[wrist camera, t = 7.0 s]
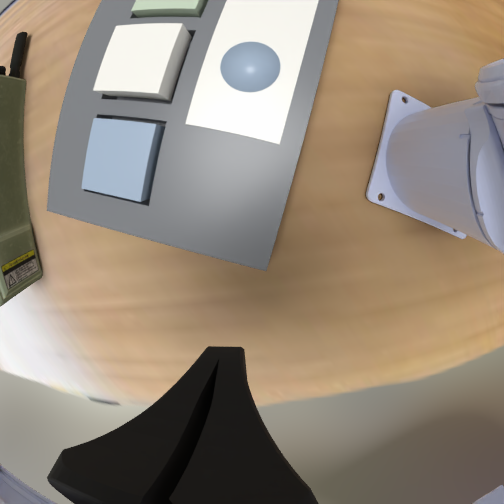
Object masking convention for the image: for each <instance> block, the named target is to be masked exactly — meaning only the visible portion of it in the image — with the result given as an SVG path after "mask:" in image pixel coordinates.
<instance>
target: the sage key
mask: <svg viewBox="0 0 504 504" xmlns="http://www.w3.org/2000/svg"><path fill="white" fill-rule="evenodd" d="M207 2H208V0H136V2H135V4H134V6H133V8H132V10H131V11H132V12H133V13H134V14H135V15H136V16H137V17H138V18H145V17H199V18H201V17H202V14H203V12H204V9H205V7H206V5H207Z"/></svg>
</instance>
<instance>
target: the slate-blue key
mask: <svg viewBox="0 0 504 504" xmlns="http://www.w3.org/2000/svg"><path fill="white" fill-rule="evenodd" d="M164 131H165V127H164V126H161V125H157V124H151V123H143V122H135V121H125V120H115V119H102V118H94V119H93V123H92V128H91V132H90V137H89V142H88V148H87V153H86V159H85V166H84V172H83V180H82V189H86V190H91V191H95V192H100V193H104V194H108V195H113V196H117V197H121V198H126V199H130V200H134V201H139V202H142V201H145V200H148V199H150V197H151V192H152V186H153V181H154V176H155V171H156V166H157V161H158V156H159V152H160V147H161V143H162V139H163V135H164Z"/></svg>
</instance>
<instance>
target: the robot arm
mask: <svg viewBox="0 0 504 504" xmlns="http://www.w3.org/2000/svg"><path fill="white" fill-rule="evenodd" d="M478 80H479V81H477V82H476V83H475V89H476V91H477V93H478V96H479V97H476V98H472V99H467V100H463V101H458V102H454V103H450V104H446V105H442V106H438V107H434V108H431V107H430V106H428V105H426V104H424V103H422V102H421V101H419V100H417V99H415V98H413V97H411V96H409V95H407V94H405V93H403V92H401V91H399V90H394V91H392V92H391V94H390V98H389V103H388V108H387V113H386V117H385V122H384V126H383V131H382V135H381V139H380V143H379V147H378V151H377V155H376V159H375V163H374V166H373V170H372V174H371V177H370V181H369V184H368V188H367V191H366V197H367V199H368V200H369V201H371V202H373V203H376V204H379V205H382V206H384V207H387V208H390V209H392V210H395V211H397V212H400V213H402V214H405V215H407V216H410V217H412V218H415V219H417V220H420V221H422V222H425V223H427V224H429V225H432V226H434V227H436V228H439V229H441V230H443V231H445V232H448V233H450V234H452V235H454V236H456V237H459V238H461V239H464V238H465V237H466V236H467V235H468V236H470V237H472V238H475V239H477V240H479V241H481V242H483V243H485V244H487V245H489V246H491V247H493V248H495V249H497V250H499V251H500V252H501V253H503V254H504V58H503V59H500V60H498V61H495V62H493V63H490V64H488V65H486V66H484V67H482V68H480V71H479V76H478ZM402 97H403V98H404V99H405V100H406V103H404V102H403V101H402ZM380 193H381V194H382V195H383V198H382V200H380V201H379V200H378V195H379V194H380ZM453 229H455V230H454V231H453ZM47 479H48V481H49V483H50V484H51V485H52V486H53V487H54V488H55V489H56V490H57V491H59V492H60V493H61V494H62V495H64V496H65V497H66V498H68V499H69V500H70V501H72V502H73V503H74V504H318V502H317V500H316V498H315V496H314V495H313V493H312V491H311V489H310V488H309V486H308V485H307V484H306V483H305V482H304V481H303V480H302V479H301V478H300V476H299V475H298V474H297V473H296V472H295V470H294V469H293V468H292V467H291V465H290V464H289V463H288V461H287V460H286V459H285V458H284V456H283V454H282V453H281V451H280V450H279V449H278V447H277V445H276V444H275V442H274V441H273V439H272V437H271V436H270V434H269V432H268V430H267V428H266V427H265V425H264V423H263V421H262V419H261V417H260V415H259V412H258V410H257V408H256V405H255V403H254V400H253V398H252V395H251V392H250V389H249V386H248V382H247V373H246V363H245V352H244V349H243V348H242V347H212V346H208V347H207V348H206V349H205V351H204V352H203V353H202V354H201V356H200V357H199V358H198V359H197V360H196V362H195V363H194V364H193V365H192V366H191V367H190V369H189V370H188V371H187V372H186V373H185V374H184V375H183V376H182V377H181V378H180V380H179V381H178V382H177V383H176V384H175V385H174V386H173V387H172V388H171V389H170V390H168V391H167V392H166V393H165V394H164V395H163V396H162V397H161V398H160V399H159V400H158V401H156V402H155V403H154V404H153V405H152V406H150V407H149V408H148V409H146V410H145V411H144V412H142V413H141V414H140V415H138V416H137V417H135V418H134V419H132V420H130V421H129V422H127V423H125V424H124V425H122V426H121V427H119V428H117V429H115V430H113V431H111V432H109V433H107V434H105V435H103V436H101V437H98V438H96V439H94V440H91V441H89V442H86V443H83V444H80V445H77V446H74V447H71V448H68V449H64V450H63V451H62V452H61V454H60V456H59V457H58V459H57V461H56V463H55V464H54V466H53V468H52V470H51V471H50V473H49V475H48V477H47ZM0 504H57V503H55V502H53V501H51V500H50V499H48V498H46V497H45V496H43V495H42V494H40V493H38V492H37V491H35V490H33V489H32V488H31V487H29V486H28V485H27V484H25V483H24V482H22V481H21V480H19V479H18V478H17V477H15V476H14V475H13V474H11V473H10V472H9V471H8V470H6V469H5V468H4V467H2V465H1V464H0ZM472 504H504V487H503V485H500V486H499V487H497V488H496V489H494V490H493V491H491V492H490V493H488V494H486V495H485V496H483V497H481V498H480V499H478V500H477V501H475V502H473V503H472Z"/></svg>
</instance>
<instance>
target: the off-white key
mask: <svg viewBox="0 0 504 504" xmlns="http://www.w3.org/2000/svg"><path fill="white" fill-rule="evenodd" d="M191 38H192V37H191V35H190V34H189V32H188V31H187V29H186V28H185V26H184V25H183V23H149V24H131V25H119V26H116V27H115V30H114V32H113V34H112V37H111V39H110V42H109V44H108V47H107V50H106V52H105V55H104V58H103V60H102V63H101V66H100V69H99V72H98V75H97V79H96V82H95V85H94V89H93V91H96V92H99V93H102V94H105V95H108V96H119V97H136V98H148V99H159V100H168V101H171V99H172V95H173V92H174V88H175V85H176V82H177V79H178V75H179V72H180V69H181V66H182V63H183V60H184V57H185V55H186V52H187V49H188V46H189V43H190V41H191Z"/></svg>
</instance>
